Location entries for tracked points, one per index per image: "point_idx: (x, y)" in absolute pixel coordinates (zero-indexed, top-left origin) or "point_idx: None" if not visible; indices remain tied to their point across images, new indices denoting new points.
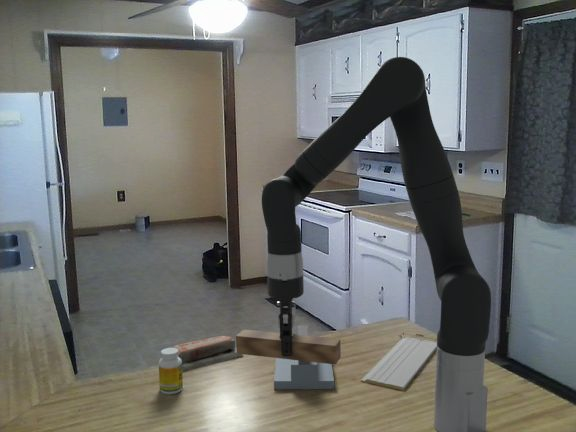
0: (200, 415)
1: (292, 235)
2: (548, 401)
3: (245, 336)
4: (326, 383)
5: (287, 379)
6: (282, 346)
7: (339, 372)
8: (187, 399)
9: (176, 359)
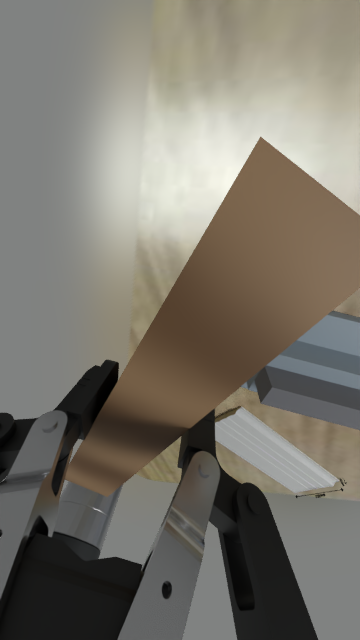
0: (209, 82)
1: None
2: (155, 476)
3: (204, 245)
4: None
5: None
6: (88, 386)
7: None
8: (335, 9)
9: None
